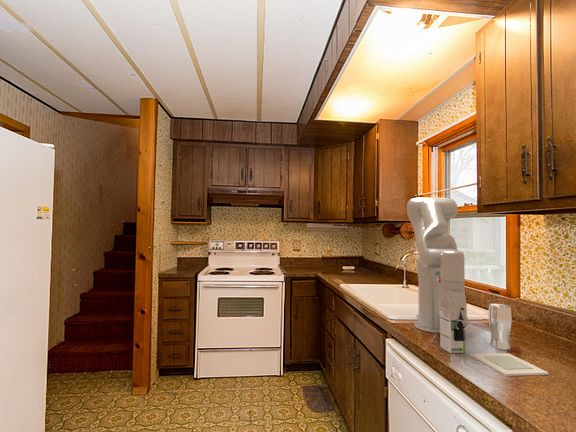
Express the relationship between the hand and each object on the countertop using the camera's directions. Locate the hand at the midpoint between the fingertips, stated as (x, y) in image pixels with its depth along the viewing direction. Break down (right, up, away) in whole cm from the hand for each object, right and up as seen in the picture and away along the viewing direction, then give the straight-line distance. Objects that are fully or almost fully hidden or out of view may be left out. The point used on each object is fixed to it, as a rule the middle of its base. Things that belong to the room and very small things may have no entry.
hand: (452, 336), depth 105 cm
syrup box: (0, -5, 0) cm, 5 cm away
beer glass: (+20, -6, +4) cm, 21 cm away
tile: (+11, -4, -11) cm, 16 cm away
